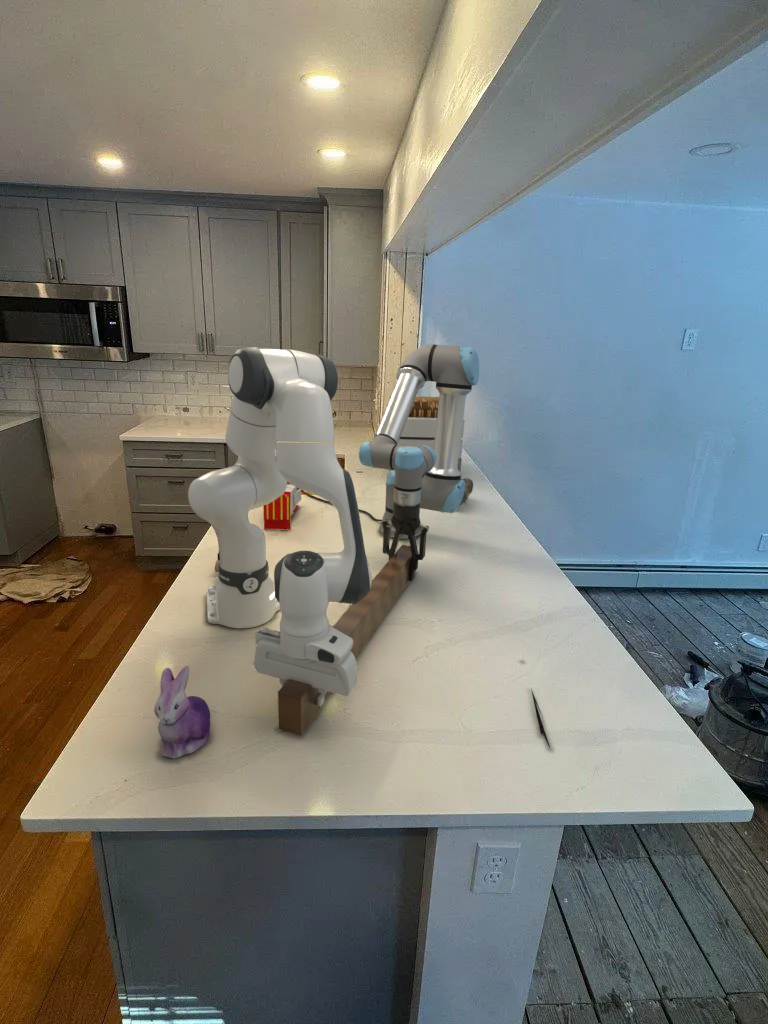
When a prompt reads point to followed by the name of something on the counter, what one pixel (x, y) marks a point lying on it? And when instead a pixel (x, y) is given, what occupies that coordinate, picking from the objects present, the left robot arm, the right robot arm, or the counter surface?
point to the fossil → (467, 490)
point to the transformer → (423, 425)
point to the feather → (539, 718)
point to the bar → (357, 625)
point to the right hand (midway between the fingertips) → (402, 577)
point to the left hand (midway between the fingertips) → (304, 699)
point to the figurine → (180, 716)
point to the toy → (282, 509)
